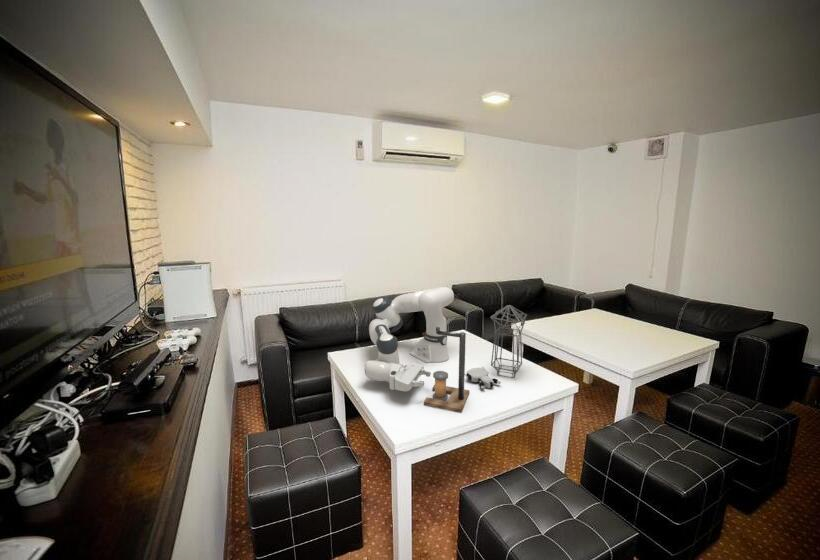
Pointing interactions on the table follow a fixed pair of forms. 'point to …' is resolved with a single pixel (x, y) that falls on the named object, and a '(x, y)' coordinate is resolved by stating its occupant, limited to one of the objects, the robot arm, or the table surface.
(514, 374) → the geometric lantern
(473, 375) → the robot toy
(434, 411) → the table surface
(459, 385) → the hook stand
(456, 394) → the notched board
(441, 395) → the cord spool
